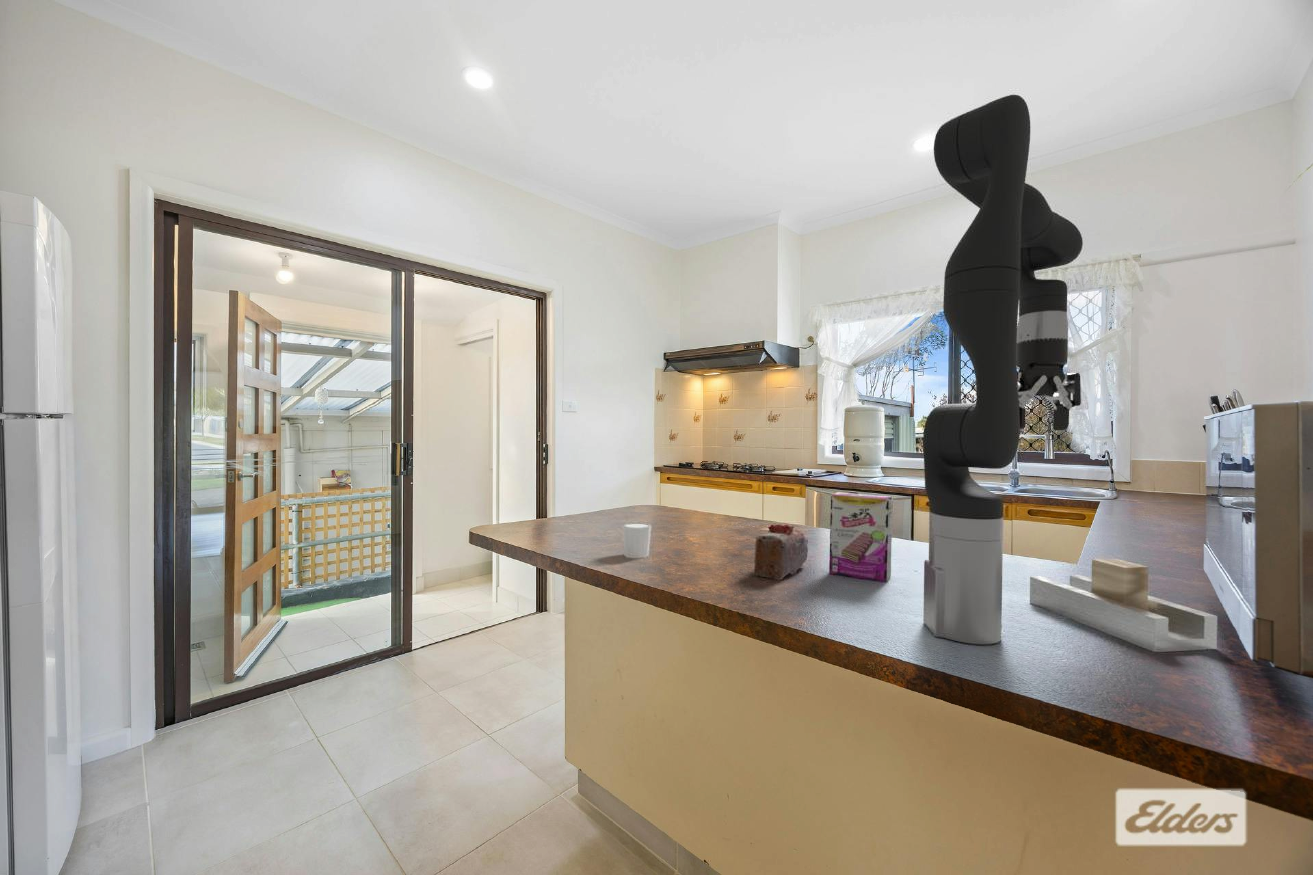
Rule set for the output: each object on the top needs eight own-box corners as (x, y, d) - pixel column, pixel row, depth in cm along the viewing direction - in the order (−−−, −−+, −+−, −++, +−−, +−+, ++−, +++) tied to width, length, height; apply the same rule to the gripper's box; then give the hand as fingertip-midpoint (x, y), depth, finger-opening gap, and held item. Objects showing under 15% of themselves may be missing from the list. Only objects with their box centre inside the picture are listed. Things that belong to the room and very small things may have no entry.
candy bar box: (828, 574, 106) (829, 493, 106) (834, 569, 110) (835, 491, 110) (887, 583, 100) (889, 498, 100) (891, 577, 104) (893, 495, 104)
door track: (1154, 652, 70) (1155, 618, 69) (1029, 602, 89) (1030, 576, 89) (1216, 648, 71) (1217, 615, 71) (1079, 600, 91) (1080, 575, 90)
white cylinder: (618, 558, 118) (618, 527, 118) (625, 551, 125) (625, 522, 125) (648, 559, 117) (648, 528, 117) (653, 552, 124) (653, 523, 124)
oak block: (1123, 621, 76) (1124, 567, 76) (1090, 610, 81) (1092, 559, 81) (1147, 620, 77) (1148, 566, 77) (1113, 609, 82) (1114, 558, 82)
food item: (774, 561, 116) (774, 517, 116) (810, 567, 112) (810, 521, 112) (750, 576, 105) (751, 527, 105) (789, 582, 100) (790, 531, 100)
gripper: (1023, 334, 90) (1021, 428, 90) (1096, 338, 92) (1093, 430, 92) (990, 342, 97) (988, 429, 97) (1057, 345, 99) (1055, 430, 99)
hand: (1039, 429), depth 95 cm, fingers open, 8 cm apart
